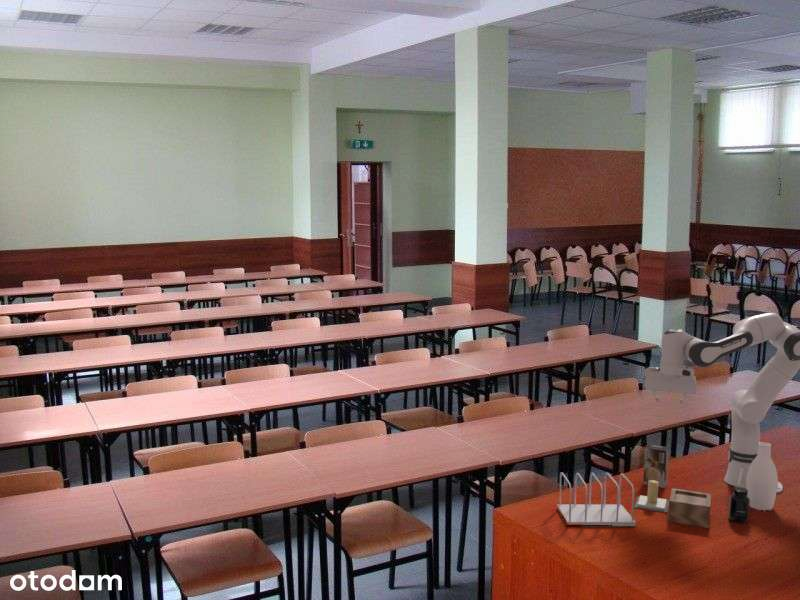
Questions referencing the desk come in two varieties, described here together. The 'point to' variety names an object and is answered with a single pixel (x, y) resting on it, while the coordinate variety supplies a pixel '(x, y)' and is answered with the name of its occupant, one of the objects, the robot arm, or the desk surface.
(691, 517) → the box
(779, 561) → the desk surface
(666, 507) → the mat
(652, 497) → the lid
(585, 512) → the file sorter
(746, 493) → the supplement bottle
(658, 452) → the coffee box
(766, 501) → the bottle
